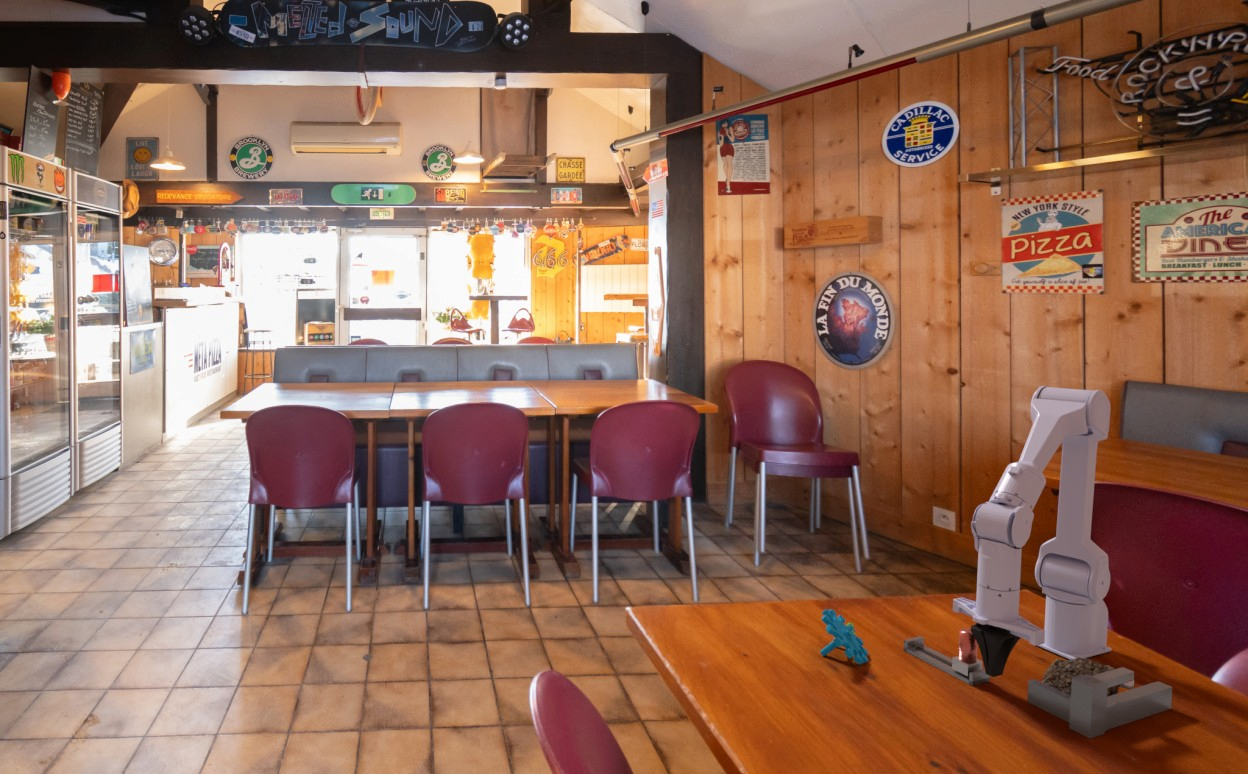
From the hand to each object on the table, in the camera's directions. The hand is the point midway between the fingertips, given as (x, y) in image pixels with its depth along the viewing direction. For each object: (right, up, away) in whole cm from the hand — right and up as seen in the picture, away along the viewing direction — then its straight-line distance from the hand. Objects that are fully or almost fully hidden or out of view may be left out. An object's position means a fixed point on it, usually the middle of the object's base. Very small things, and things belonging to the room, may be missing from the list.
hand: (994, 674), depth 121 cm
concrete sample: (+11, -3, -3) cm, 11 cm away
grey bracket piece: (+12, -3, -5) cm, 14 cm away
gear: (-19, -2, +12) cm, 22 cm away
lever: (-2, -2, +5) cm, 5 cm away
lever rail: (-4, -2, +9) cm, 10 cm away
